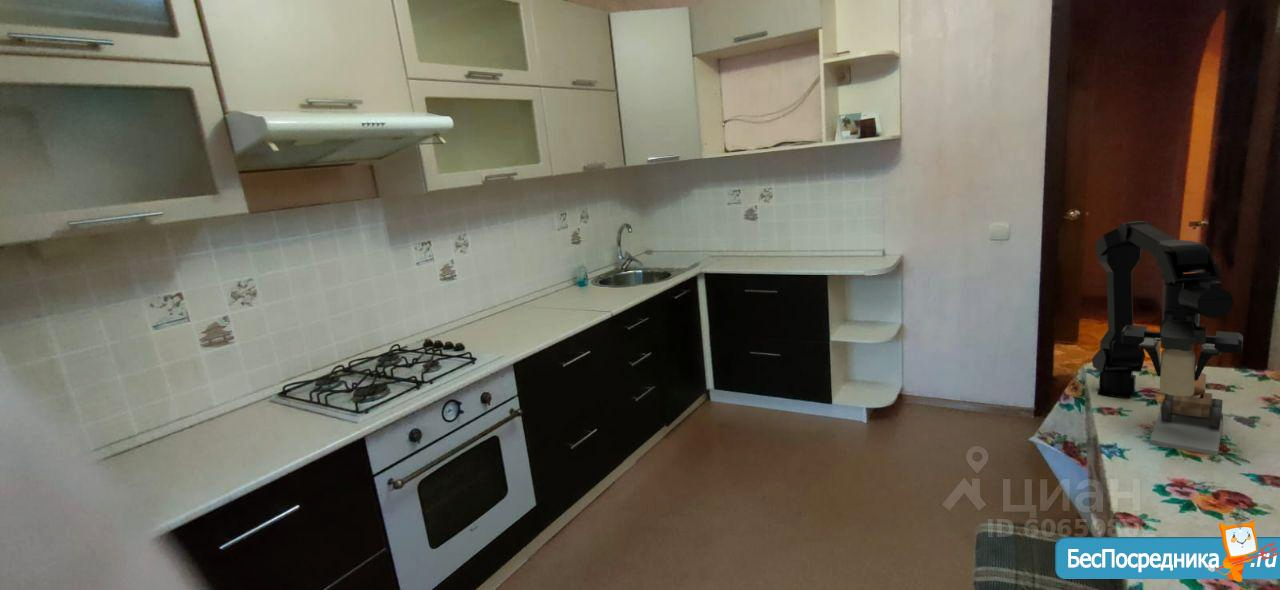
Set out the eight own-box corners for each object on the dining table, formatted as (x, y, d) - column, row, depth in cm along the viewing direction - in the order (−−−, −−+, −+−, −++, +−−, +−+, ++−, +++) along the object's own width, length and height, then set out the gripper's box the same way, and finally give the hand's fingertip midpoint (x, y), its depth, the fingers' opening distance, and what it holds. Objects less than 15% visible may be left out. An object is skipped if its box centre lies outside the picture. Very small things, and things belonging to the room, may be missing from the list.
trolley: (1160, 422, 137) (1161, 400, 136) (1165, 407, 143) (1166, 385, 142) (1219, 432, 130) (1220, 408, 129) (1221, 415, 137) (1223, 392, 135)
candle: (1199, 396, 127) (1202, 350, 125) (1166, 396, 129) (1168, 350, 127) (1186, 386, 132) (1189, 341, 130) (1154, 386, 134) (1156, 342, 132)
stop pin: (1179, 414, 137) (1181, 375, 136) (1181, 408, 140) (1183, 370, 138) (1202, 417, 135) (1205, 378, 133) (1204, 411, 137) (1206, 372, 135)
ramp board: (1149, 444, 131) (1150, 435, 130) (1160, 412, 143) (1160, 404, 143) (1217, 456, 123) (1218, 446, 123) (1222, 422, 136) (1223, 413, 135)
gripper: (1117, 311, 128) (1115, 383, 131) (1243, 319, 115) (1237, 398, 118) (1126, 299, 136) (1123, 367, 139) (1245, 304, 123) (1239, 379, 126)
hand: (1177, 377), depth 130 cm, fingers closed on candle, 5 cm apart
